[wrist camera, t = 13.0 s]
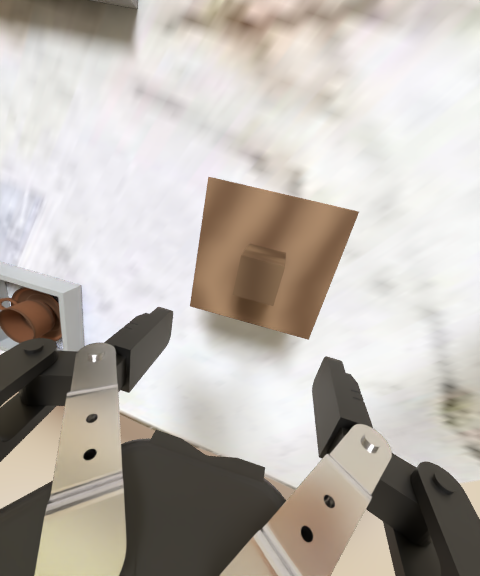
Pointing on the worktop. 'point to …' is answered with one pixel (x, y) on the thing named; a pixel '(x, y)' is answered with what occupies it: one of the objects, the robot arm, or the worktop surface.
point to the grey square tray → (62, 289)
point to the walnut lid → (267, 256)
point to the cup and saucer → (31, 316)
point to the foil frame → (121, 2)
